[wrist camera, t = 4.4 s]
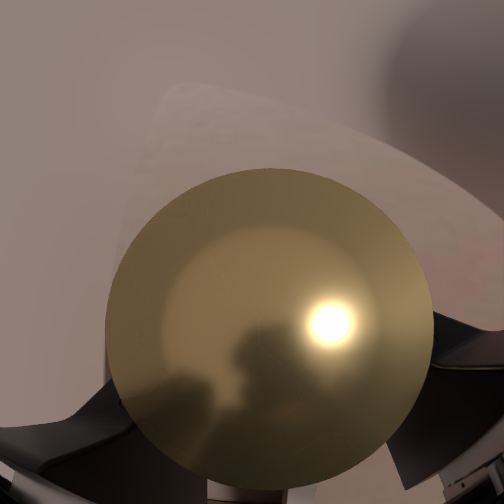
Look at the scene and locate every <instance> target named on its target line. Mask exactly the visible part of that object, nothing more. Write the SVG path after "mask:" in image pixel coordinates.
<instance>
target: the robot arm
mask: <svg viewBox="0 0 504 504" xmlns="http://www.w3.org/2000/svg"><path fill="white" fill-rule="evenodd" d="M433 319H434V334H433V347H432V354H431V359H430V365H429V368H428V371H427V375H426V378H425V381H424V384H423V387H422V389H421V391H420V393H419V395H418V397H417V399H416V402H415V404H414V406H413V407H412V409H411V410H410V412H409V413H408V415H407V417H406V418H405V420H404V421H403V423H402V424H401V425H400V426H399V428H398V429H397V430H396V431H395V432H394V433H393V435H392V436H391V437H390V438H389V439H388V440H387V441H386V443H387V446H388V448H389V451H390V453H391V455H392V458H393V460H394V463H395V465H396V468H397V471H398V473H399V476H400V478H401V481H402V484H403V486H404V488H405V490H408V489H410V488H412V487H414V486H416V485H418V484H420V483H422V482H424V481H426V480H428V479H430V478H431V477H433V476H435V475H437V474H439V477H440V479H441V482H442V484H443V487H444V490H443V494H444V497H445V500H446V502H445V503H444V504H504V330H501V331H485V330H481V329H478V328H475V327H473V326H470V325H468V324H465V323H462V322H460V321H457V320H454V319H452V318H449V317H447V316H444V315H442V314H439V313H437V312H434V311H433ZM0 461H1V462H3V463H4V464H6V465H7V466H9V467H10V468H12V469H13V470H15V472H14V476H13V480H12V482H11V481H9V480H8V479H6V478H4V477H2V476H1V475H0V504H207V478H204V477H201V476H199V475H197V474H195V473H193V472H191V471H189V470H188V469H186V468H184V467H182V466H180V465H179V464H177V463H176V462H175V461H173V460H172V459H170V458H169V457H168V456H166V455H165V454H164V453H162V452H161V451H160V450H159V449H158V448H157V447H156V446H155V445H154V444H153V443H152V442H151V441H150V440H149V439H148V438H147V437H146V436H145V435H144V434H143V433H142V431H141V430H140V429H139V428H138V426H137V425H136V424H135V422H134V421H133V420H132V418H131V416H130V415H129V413H128V411H127V410H126V408H125V406H124V405H123V403H122V401H121V399H120V396H119V394H118V392H117V389H116V387H115V384H114V382H113V378H111V379H110V380H109V381H108V382H107V383H106V384H105V385H104V386H103V387H102V388H101V389H100V390H99V391H98V392H97V393H96V394H95V395H94V396H93V397H92V398H91V399H90V400H89V401H88V402H87V403H86V404H85V405H84V406H83V407H81V408H80V409H79V410H78V411H77V412H76V413H75V414H74V415H73V416H71V417H69V418H67V419H65V420H62V421H59V422H53V423H47V424H39V425H30V426H22V427H7V428H2V427H0Z"/></svg>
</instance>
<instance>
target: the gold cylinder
mask: <svg viewBox="0 0 504 504" xmlns="http://www.w3.org/2000/svg"><path fill="white" fill-rule="evenodd" d="M433 334H434V319H433V309H432V301H431V296H430V292H429V288H428V284H427V280H426V277H425V275H424V272H423V270H422V267H421V265H420V262H419V260H418V258H417V256H416V254H415V253H414V251H413V249H412V247H411V245H410V244H409V242H408V241H407V239H406V238H405V237H404V235H403V234H402V232H401V231H400V230H399V228H398V227H397V226H396V225H395V224H394V223H393V222H392V221H391V220H390V219H389V217H388V216H387V215H386V214H385V213H384V212H383V211H382V210H380V209H379V208H378V207H377V206H375V205H374V204H373V203H372V202H370V201H369V200H368V199H367V198H365V197H363V196H362V195H360V194H359V193H357V192H355V191H354V190H352V189H350V188H349V187H347V186H344V185H342V184H340V183H338V182H335V181H333V180H331V179H328V178H325V177H322V176H318V175H315V174H312V173H307V172H302V171H296V170H290V169H272V168H268V169H254V170H246V171H240V172H235V173H230V174H227V175H224V176H220V177H217V178H214V179H211V180H209V181H206V182H204V183H202V184H200V185H198V186H196V187H194V188H191V189H190V190H188V191H186V192H185V193H183V194H182V195H180V196H178V197H177V198H175V199H174V200H172V201H171V202H170V203H169V204H167V205H166V206H165V207H164V208H162V209H161V210H160V211H159V212H158V213H157V214H156V215H155V216H154V217H153V218H152V219H151V220H150V221H149V222H148V223H147V224H146V225H145V226H144V227H143V228H142V230H141V231H140V232H139V234H138V235H137V236H136V238H135V239H134V240H133V242H132V243H131V245H130V247H129V248H128V250H127V252H126V254H125V255H124V257H123V259H122V261H121V263H120V265H119V268H118V270H117V273H116V275H115V277H114V280H113V283H112V287H111V291H110V295H109V299H108V304H107V312H106V320H105V343H106V350H107V358H108V364H109V367H110V371H111V375H112V378H113V382H114V384H115V387H116V389H117V392H118V394H119V396H120V399H121V401H122V403H123V405H124V406H125V408H126V410H127V411H128V413H129V415H130V416H131V418H132V420H133V421H134V422H135V424H136V425H137V426H138V428H139V429H140V430H141V431H142V433H143V434H144V435H145V436H146V437H147V438H148V439H149V440H150V441H151V442H152V443H153V444H154V445H155V446H156V447H157V448H158V449H159V450H160V451H161V452H162V453H164V454H165V455H166V456H168V457H169V458H170V459H172V460H173V461H175V462H176V463H177V464H179V465H180V466H182V467H184V468H186V469H188V470H189V471H191V472H193V473H195V474H197V475H199V476H201V477H204V478H207V479H209V480H212V481H215V482H218V483H220V484H224V485H229V486H233V487H238V488H243V489H253V490H284V489H292V488H297V487H303V486H308V485H312V484H315V483H318V482H321V481H324V480H327V479H330V478H332V477H334V476H337V475H339V474H341V473H343V472H345V471H347V470H349V469H351V468H352V467H354V466H356V465H357V464H359V463H360V462H362V461H363V460H365V459H366V458H367V457H369V456H370V455H372V454H373V453H374V452H375V451H376V450H377V449H378V448H380V447H381V446H382V445H383V444H384V443H385V442H386V441H387V440H388V439H389V438H390V437H391V436H392V435H393V433H394V432H395V431H396V430H397V429H398V428H399V426H400V425H401V424H402V423H403V421H404V420H405V418H406V417H407V415H408V413H409V412H410V410H411V409H412V407H413V406H414V404H415V402H416V399H417V397H418V395H419V393H420V391H421V389H422V387H423V384H424V381H425V378H426V375H427V371H428V368H429V365H430V359H431V354H432V347H433Z"/></svg>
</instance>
